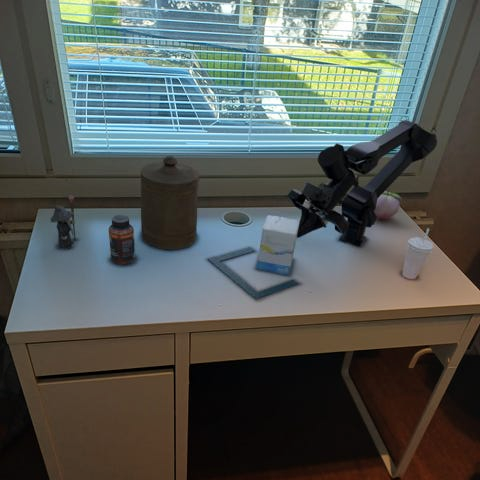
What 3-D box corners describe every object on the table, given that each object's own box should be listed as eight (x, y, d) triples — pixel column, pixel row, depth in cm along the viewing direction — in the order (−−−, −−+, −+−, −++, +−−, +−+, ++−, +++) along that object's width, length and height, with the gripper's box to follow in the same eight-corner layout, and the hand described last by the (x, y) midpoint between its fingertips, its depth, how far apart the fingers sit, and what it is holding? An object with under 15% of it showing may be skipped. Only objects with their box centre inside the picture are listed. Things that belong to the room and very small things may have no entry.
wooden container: (203, 230, 135) (207, 153, 121) (185, 254, 123) (188, 172, 110) (154, 220, 137) (152, 143, 123) (132, 243, 125) (128, 160, 112)
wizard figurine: (75, 252, 119) (69, 207, 112) (52, 251, 118) (44, 206, 111) (80, 236, 125) (75, 193, 118) (58, 235, 125) (52, 192, 117)
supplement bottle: (140, 258, 120) (138, 217, 113) (126, 268, 115) (123, 226, 108) (120, 251, 121) (117, 210, 114) (105, 261, 117) (102, 219, 110)
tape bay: (249, 248, 129) (249, 247, 129) (298, 284, 117) (298, 283, 117) (208, 260, 122) (208, 259, 122) (255, 299, 110) (256, 298, 110)
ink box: (288, 275, 120) (296, 234, 113) (256, 269, 121) (261, 228, 114) (292, 259, 127) (300, 219, 119) (261, 253, 127) (267, 213, 120)
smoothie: (408, 283, 122) (426, 235, 114) (392, 271, 127) (408, 223, 118) (426, 279, 125) (445, 231, 117) (409, 267, 129) (426, 220, 121)
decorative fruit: (392, 215, 156) (401, 186, 150) (396, 226, 149) (405, 196, 143) (364, 211, 156) (372, 182, 150) (366, 222, 150) (374, 192, 144)
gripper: (298, 158, 121) (259, 205, 122) (352, 184, 110) (309, 237, 111) (314, 183, 130) (278, 227, 131) (365, 210, 119) (325, 258, 120)
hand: (296, 236), depth 123 cm, fingers closed
